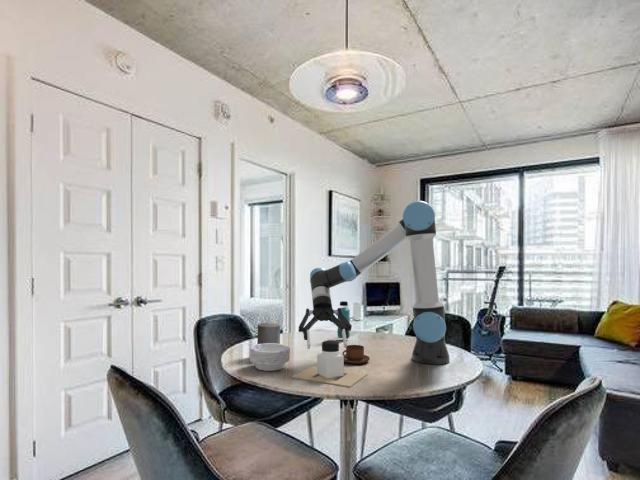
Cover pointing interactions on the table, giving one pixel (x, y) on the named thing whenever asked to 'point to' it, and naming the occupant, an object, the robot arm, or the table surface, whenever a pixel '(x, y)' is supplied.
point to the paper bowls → (269, 356)
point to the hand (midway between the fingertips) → (327, 346)
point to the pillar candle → (268, 333)
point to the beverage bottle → (347, 315)
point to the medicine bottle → (330, 360)
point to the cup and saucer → (355, 354)
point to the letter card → (346, 380)
